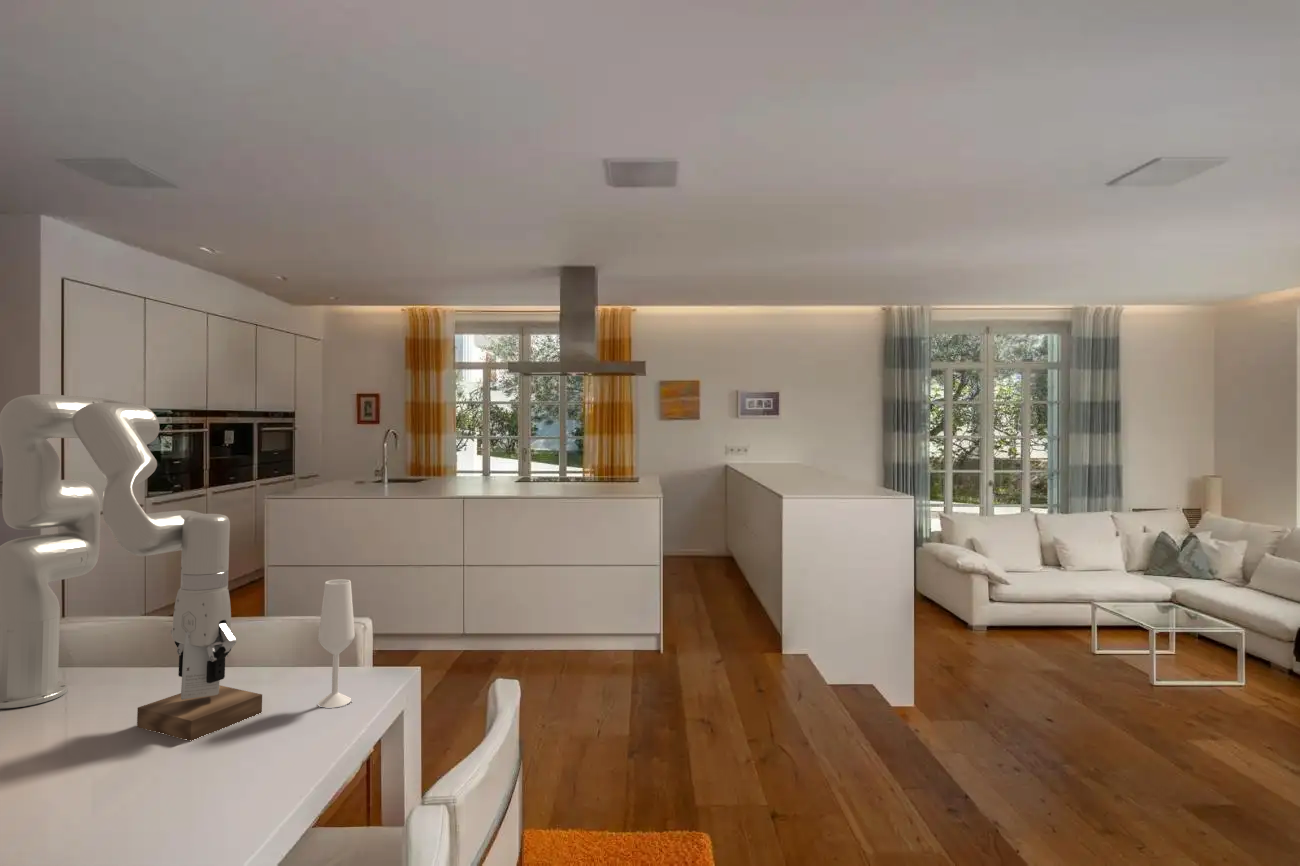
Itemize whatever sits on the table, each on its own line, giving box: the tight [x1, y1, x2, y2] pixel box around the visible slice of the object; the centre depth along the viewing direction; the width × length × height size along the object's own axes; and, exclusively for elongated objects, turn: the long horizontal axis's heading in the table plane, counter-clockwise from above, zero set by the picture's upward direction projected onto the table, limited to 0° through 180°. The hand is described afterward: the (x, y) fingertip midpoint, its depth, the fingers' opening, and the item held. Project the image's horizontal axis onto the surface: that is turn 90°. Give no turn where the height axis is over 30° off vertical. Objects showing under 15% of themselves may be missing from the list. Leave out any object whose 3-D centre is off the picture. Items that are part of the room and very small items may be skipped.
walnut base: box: [136, 684, 263, 742], centre depth 133 cm, size 14×14×4 cm
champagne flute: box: [317, 578, 356, 707], centre depth 143 cm, size 7×7×24 cm
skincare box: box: [180, 632, 221, 700], centre depth 133 cm, size 6×4×12 cm
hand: (201, 676), depth 133 cm, fingers closed on skincare box, 6 cm apart
